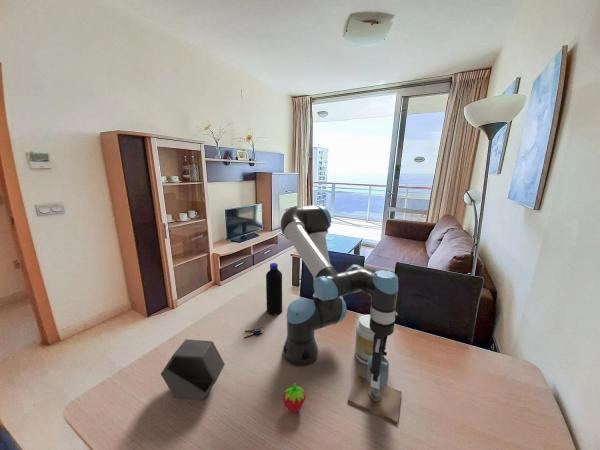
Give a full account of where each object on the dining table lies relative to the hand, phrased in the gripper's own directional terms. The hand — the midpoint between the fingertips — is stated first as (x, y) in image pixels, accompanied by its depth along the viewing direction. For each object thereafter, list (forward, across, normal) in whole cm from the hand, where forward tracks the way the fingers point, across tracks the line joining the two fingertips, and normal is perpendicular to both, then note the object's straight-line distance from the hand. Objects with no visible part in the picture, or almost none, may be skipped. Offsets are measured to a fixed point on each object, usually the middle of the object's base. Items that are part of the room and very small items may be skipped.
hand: (377, 378), depth 83 cm
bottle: (+8, +29, +61) cm, 68 cm away
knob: (0, 0, 0) cm, 0 cm away
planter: (+8, -27, +58) cm, 65 cm away
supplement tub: (+8, +19, +6) cm, 22 cm away
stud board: (+8, 0, 0) cm, 8 cm away
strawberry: (+8, -17, +23) cm, 30 cm away
